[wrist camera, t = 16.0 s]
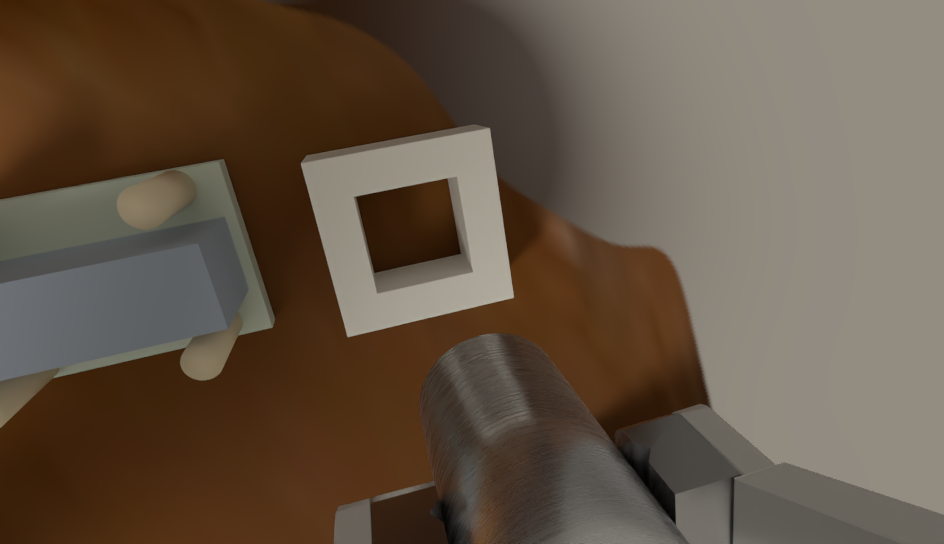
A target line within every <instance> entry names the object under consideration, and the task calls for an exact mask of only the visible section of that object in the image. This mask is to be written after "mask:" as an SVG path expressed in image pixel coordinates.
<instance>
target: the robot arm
mask: <svg viewBox="0 0 944 544" xmlns="http://www.w3.org/2000/svg"><path fill="white" fill-rule="evenodd" d="M614 439H615V445H616V447H617V448H618V449H619V451H620V452H621V453H622V455H623V456H624V457H625V459H626V460H627V461H628V463H629V464H630V465H631V467H632V468H633V469H634V471H635V472H636V473H637V475H638V476H639V477H640V479H641V480H642V481H643V483H644V484H645V485H646V487H647V488H648V489H649V491H650V492H651V493H652V495H653V496H654V497H655V499H656V500H657V501H658V503H659V504H660V505H661V507H662V508H663V509H664V510H665V512H666V513H667V514H668V516H669V517H670V518H671V520H672V521H673V522H674V524H675V525H676V526H677V528H678V529H679V530H680V532H681V533H682V534H683V536H684V537H685V538H686V540H687V541H688V542H689V544H944V515H943V514H939V513H937V512H933V511H931V510H928V509H924V508H921V507H918V506H915V505H912V504H909V503H906V502H903V501H900V500H897V499H894V498H891V497H888V496H885V495H882V494H879V493H876V492H873V491H870V490H867V489H864V488H861V487H858V486H855V485H851V484H848V483H845V482H843V481H840V480H836V479H833V478H830V477H827V476H824V475H821V474H818V473H815V472H812V471H809V470H806V469H803V468H800V467H797V466H794V465H791V464H788V463H781V464H778V465H775V464H774V463H773V462H772V461H771V460H769V459H768V458H767V457H766V456H765V455H764V454H762V453H761V452H760V451H759V450H758V449H757V448H755V447H754V446H753V445H752V444H751V443H750V442H749V441H747V440H746V439H745V438H744V437H743V436H742V435H741V434H739V433H738V432H737V431H736V430H735V429H734V428H732V427H731V426H730V425H729V424H728V423H727V422H725V421H724V420H723V419H722V418H721V417H720V416H719V415H717V414H716V413H715V412H714V411H713V410H712V409H710V408H709V407H708V406H706V405H703V404H698V405H695V406H692V407H688V408H685V409H682V410H679V411H675V412H673V413H672V414H668V415H664V416H661V417H657V418H654V419H650V420H647V421H644V422H640V423H637V424H633V425H630V426H626V427H623V428H620V429H616V432H615V437H614ZM334 544H449V543H448V538H447V531H446V527H445V522H444V518H443V513H442V509H441V504H440V500H439V496H438V492H437V488H436V483H435V481H433V482H429V483H425V484H421V485H417V486H413V487H410V488H406V489H402V490H398V491H394V492H390V493H386V494H383V495H379V496H375V497H372V499H366V500H362V501H358V502H354V503H350V504H347V505H343V506H339V507H338V509H337V512H336V514H335V532H334Z"/></svg>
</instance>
